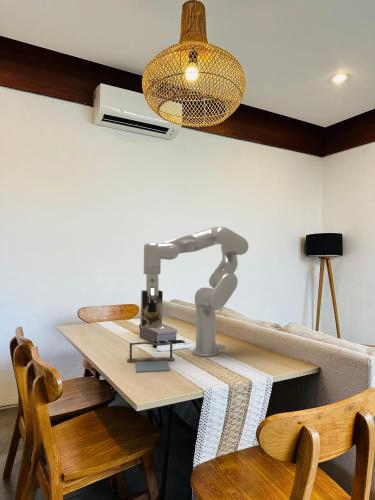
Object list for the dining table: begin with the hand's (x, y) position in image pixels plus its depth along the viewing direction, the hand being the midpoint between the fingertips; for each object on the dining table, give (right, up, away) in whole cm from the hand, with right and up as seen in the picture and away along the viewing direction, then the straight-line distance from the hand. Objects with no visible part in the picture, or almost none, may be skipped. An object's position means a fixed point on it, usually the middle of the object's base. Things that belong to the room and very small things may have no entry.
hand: (151, 310), depth 154 cm
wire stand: (0, -23, 0) cm, 23 cm away
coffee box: (0, -8, 0) cm, 8 cm away
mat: (+1, -23, -8) cm, 24 cm away
